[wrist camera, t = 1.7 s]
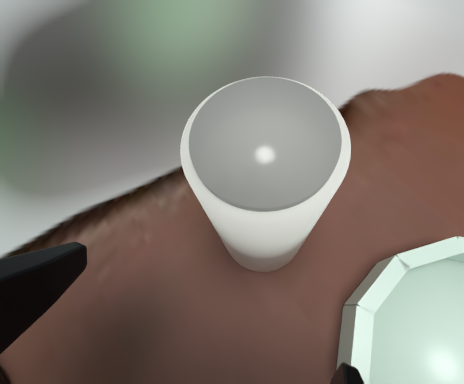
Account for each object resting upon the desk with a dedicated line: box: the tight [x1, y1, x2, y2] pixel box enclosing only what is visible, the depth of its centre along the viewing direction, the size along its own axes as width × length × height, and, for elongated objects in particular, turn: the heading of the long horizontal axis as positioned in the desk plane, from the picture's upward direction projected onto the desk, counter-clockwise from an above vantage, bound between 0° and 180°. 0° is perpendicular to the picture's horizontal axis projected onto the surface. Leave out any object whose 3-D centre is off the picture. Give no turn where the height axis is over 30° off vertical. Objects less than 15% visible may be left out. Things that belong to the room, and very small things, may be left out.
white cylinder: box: [180, 77, 351, 272], centre depth 16 cm, size 6×6×13 cm
